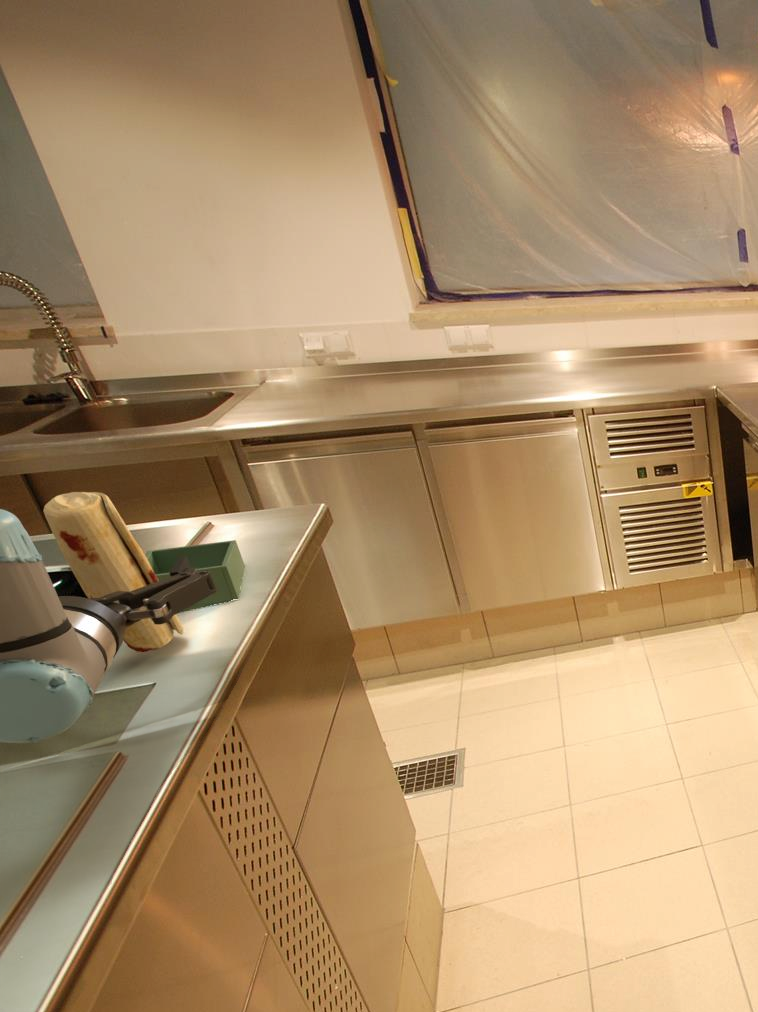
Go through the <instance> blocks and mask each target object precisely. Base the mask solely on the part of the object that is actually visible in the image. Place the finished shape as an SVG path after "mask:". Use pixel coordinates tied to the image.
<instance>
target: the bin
mask: <svg viewBox="0 0 758 1012" xmlns="http://www.w3.org/2000/svg"><path fill="white" fill-rule="evenodd" d="M144 554H145V556H146V558H147V560H148V561H149V563H150V565H151V567H152V569H153V571H154V573H155V575H156V577H157V579H158V580H159V581H160V580H163V579H166V578H169V577H171V576H170V571H171V569H172V567H173V565H174V564H175V562H176V560H177V558H178V557H179V556H187V558H188V561H189V563H190V566H191V568H194V567H195V568H196V569H197V572H198V573H199V572H201V571H209V572H210V574H211V576H212V579H213V581H214V584H215V587H216V589H217V592H216V593H214V594H212V595H210V596H208V597H206V598H205V599H203V600H201V601H199V602H197V603H195V604H194V605H192V606H190V607H188V608H186V609H185V610H183V611H181V612H180V613H183V612H188V611H193V609H194V610H198V609H202V608H201V607H203V608H207V607H206V606H208V607H211V606H210V605H212V606H215V605H214V604H217V605H220V604H219V603H222V604H225V603H224V602H226V603H230V602H229V601H231V600H233V599H238V598H239V599H240V595H239V592H240V593H241V590H240V586H241V587H242V585H241V582H242V583H243V579H242V577H243V578H244V573H245V568H246V564H245V562H244V559H243V556H242V554H241V551H240V548H239V545H238V542H237V540H226V541H217V542H212V543H211V542H209V543H202V544H201V543H200V544H193V545H192V544H191V545H185V546H178V547H177V546H176V547H168V548H159V549H152V550H147V551H146V552H145V553H144ZM231 602H232V601H231ZM197 608H198V609H197Z"/></svg>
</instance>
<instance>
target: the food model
mask: <svg viewBox="0 0 758 1012" xmlns="http://www.w3.org/2000/svg"><path fill="white" fill-rule="evenodd" d="M42 511H43V514H44V517H45V519H46V521H47V524H48V526H49V528H50V530H51V532H52V535H53V537H54V539H55V540H56V542H57V545H58V547H59V550H60V552H61V554H62V555H63V556H62V557H64V559H65V561H66V563H67V565H68V566H69V568H70V570H71V572H72V574H73V575H74V577H75V578H76V580H77V583H78V584H79V585H80V587H81V589H82V591H83V592H84V595H85V596H86V597H87V599H89V598H99V597H102V596H105V595H108V594H111V593H113V592H116V591H128V592H130V591H133V590H136V589H138V588H141V587H144V586H147V585H149V584H152V583H155V582H158V581H159V580H158V579H157V577H156V575H155V573H154V571H153V569H152V567H151V565H150V563H149V561H148V560H147V558H146V556H145V554H146V553H144V551H143V549H142V548H141V546H140V545H139V544H138V542H137V541H136V540H135V537H134V536H133V535H132V533H131V531H130V530H129V527H128V526H127V524H126V523H125V521H124V519H123V518H122V517H121V515H120V513H119V512H118V510H117V508H116V506H115V504H114V503H113V501H112V500H111V499H110V497H109V495H107V494H105V493H103V492H98V491H89V492H86V491H71V492H68V493H62V494H58V495H56V496H55V497H52V498H51V500H49V501H48V502H47V503H46V504H45V505H44V507H43V510H42ZM114 602H115V603H119V601H118V600H117V601H114ZM119 604H120V603H119ZM174 631H175V632H176V633H178V634H179V635H183V634H184V631H185V629H184V626H183V624H182V622H181V620H180V619H179V617H178V615H177V614H175V615H174V616H173V617H172V618H171V619H170V620H169V621H168V622H166V623H164V624H154V622H153V621H151V619H150V618H148V619H141V620H140V621H138V622H136V623H134V624H133V625H131V626H129V627H127V628H126V629H125V636H124V640H123V642H124V644H126V646H127V647H128V648H129V649H131V650H133V651H135V652H136V653H147V652H149V651H150V652H151V651H155V650H159V649H161V648H164V647H166V645H167V644H169V643H170V642H171V641H172V640H173V638H174V634H175V632H174Z"/></svg>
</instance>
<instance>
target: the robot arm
mask: <svg viewBox="0 0 758 1012" xmlns="http://www.w3.org/2000/svg"><path fill="white" fill-rule="evenodd" d="M42 555H43V554H41V553H39V551H38V549H37V548H36V546H35V544H34V542H33V540H32V539H31V536H30V534H29V533H28V531H27V530H26V528H25V527H24V526H23V524H22V522H21V520H20V519H19V518H18V517H17V516H16V515H15V514H14V513H12V512H10V511H8V510H6V509H2V508H0V742H1V743H5V744H6V743H8V744H29V743H39V742H42V741H46V740H49V739H51V738H54V737H57V736H59V735H61V734H62V733H64V732H66V730H68V729H70V728H71V727H72V726H73V725H74V724H75V723H76V722H77V721H78V719H79V718H80V717H81V716H82V715H83V714H84V713H86V712H87V711H88V709H89V708H90V705H92V701H93V699H94V696H95V694H96V692H97V690H98V688H99V686H100V684H101V682H102V680H103V678H104V676H105V675H106V673H107V671H108V669H109V668H110V666H111V664H112V662H113V660H114V659H115V657H116V655H118V651H119V650H120V648H121V647H122V644H123V642H124V636H125V629H126V628H127V627H129V626H131V625H133V624H134V623H136V622H138V621H140V620H141V619H148V618H150V619H151V621H153V622H154V624H164V623H166V622H168V621H169V620H170V619H171V618H172V617H173V616H174V615H175V614H176V615H177V614H179V613H182V612H184V611H183V610H185V609H186V608H188V607H190V606H192V605H194V604H195V603H197V602H199V601H201V600H203V599H205V598H206V597H208V596H210V595H212V594H214V593H216V592H217V589H216V587H215V584H214V581H213V579H212V576H211V574H210V572H209V571H201V572H199V573H198V572H197V569H196V568H195V567H194V568H191V566H190V563H189V561H188V558H187V556H179V557H178V558H177V560H176V562H175V564H174V565H173V567H172V569H171V571H170V576H171V577H169V578H166V579H163V580H160V581H158V582H155V583H152V584H149V585H147V586H144V587H141V588H138V589H136V590H133V591H130V592H128V591H116V592H113V593H111V594H108V595H105V596H102V597H99V598H88V597H87V598H86V597H82V596H76V595H61V596H58V593H57V591H56V588H55V587H54V584H53V582H52V579H51V577H50V575H49V573H48V570H47V568H46V565H45V563H44V562H43V560H44V558H43V556H42ZM117 600H118V601H119V603H120V604H119V603H115V602H114V601H117ZM181 611H182V612H181Z"/></svg>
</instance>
